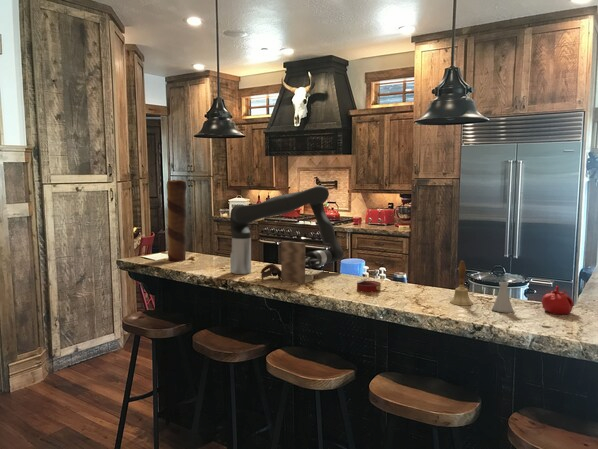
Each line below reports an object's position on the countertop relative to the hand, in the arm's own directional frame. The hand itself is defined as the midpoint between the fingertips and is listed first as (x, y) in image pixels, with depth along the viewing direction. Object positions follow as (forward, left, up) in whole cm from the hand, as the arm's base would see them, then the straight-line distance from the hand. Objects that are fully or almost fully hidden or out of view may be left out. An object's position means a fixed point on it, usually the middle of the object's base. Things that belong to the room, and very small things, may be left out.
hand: (295, 263), depth 215 cm
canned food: (+34, +5, -8) cm, 35 cm away
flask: (+87, +4, -8) cm, 87 cm away
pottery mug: (-11, -2, -8) cm, 14 cm away
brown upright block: (0, +1, -8) cm, 8 cm away
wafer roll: (-86, +7, -8) cm, 87 cm away
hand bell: (+72, +6, -8) cm, 73 cm away
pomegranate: (+103, +13, -8) cm, 104 cm away
